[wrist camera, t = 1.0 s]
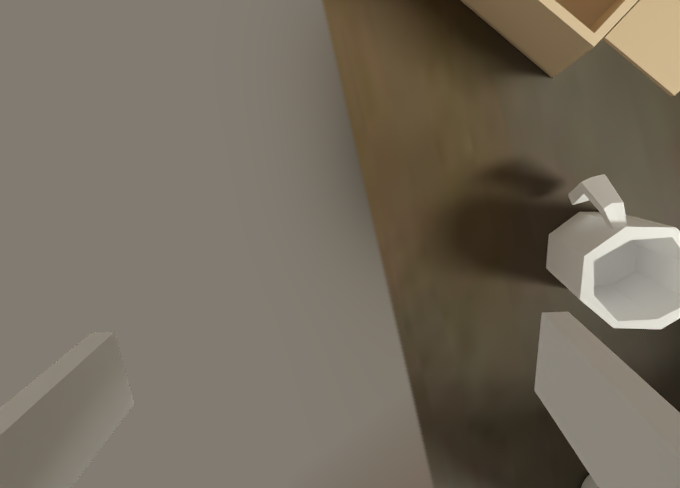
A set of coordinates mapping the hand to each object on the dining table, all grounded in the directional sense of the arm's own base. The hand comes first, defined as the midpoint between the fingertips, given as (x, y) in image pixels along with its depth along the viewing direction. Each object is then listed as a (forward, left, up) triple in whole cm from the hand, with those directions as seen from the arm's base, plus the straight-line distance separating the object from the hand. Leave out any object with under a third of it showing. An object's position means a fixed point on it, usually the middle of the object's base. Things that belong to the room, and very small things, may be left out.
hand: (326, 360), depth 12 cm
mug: (-16, +6, -32) cm, 36 cm away
